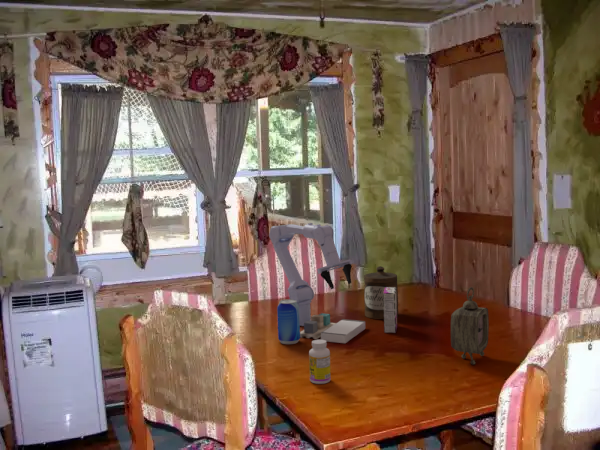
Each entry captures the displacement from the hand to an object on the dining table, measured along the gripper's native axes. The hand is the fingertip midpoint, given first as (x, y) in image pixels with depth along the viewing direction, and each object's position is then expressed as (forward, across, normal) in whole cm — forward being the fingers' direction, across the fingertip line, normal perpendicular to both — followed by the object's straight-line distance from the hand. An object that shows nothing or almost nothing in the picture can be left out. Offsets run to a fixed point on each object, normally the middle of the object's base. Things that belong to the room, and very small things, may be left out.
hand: (341, 286), depth 249 cm
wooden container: (+15, +23, +27) cm, 39 cm away
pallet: (+14, -12, +12) cm, 22 cm away
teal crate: (+12, -7, +16) cm, 21 cm away
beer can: (+15, -26, +4) cm, 30 cm away
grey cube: (+13, -16, +7) cm, 22 cm away
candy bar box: (+22, +16, +6) cm, 28 cm away
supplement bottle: (+31, -31, -39) cm, 58 cm away
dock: (+18, -4, +5) cm, 19 cm away
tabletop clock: (+40, +23, -36) cm, 59 cm away
